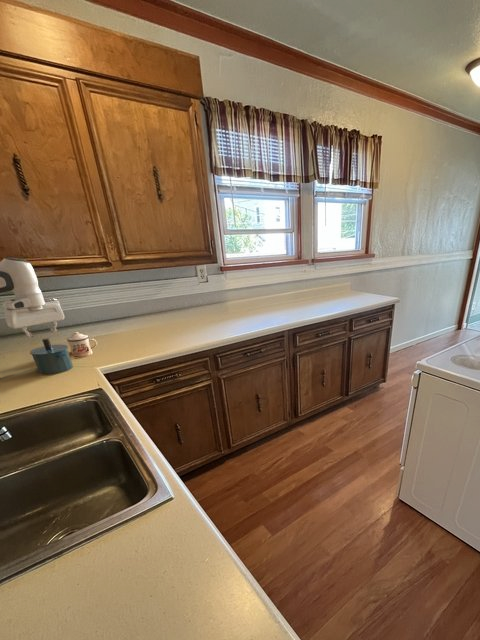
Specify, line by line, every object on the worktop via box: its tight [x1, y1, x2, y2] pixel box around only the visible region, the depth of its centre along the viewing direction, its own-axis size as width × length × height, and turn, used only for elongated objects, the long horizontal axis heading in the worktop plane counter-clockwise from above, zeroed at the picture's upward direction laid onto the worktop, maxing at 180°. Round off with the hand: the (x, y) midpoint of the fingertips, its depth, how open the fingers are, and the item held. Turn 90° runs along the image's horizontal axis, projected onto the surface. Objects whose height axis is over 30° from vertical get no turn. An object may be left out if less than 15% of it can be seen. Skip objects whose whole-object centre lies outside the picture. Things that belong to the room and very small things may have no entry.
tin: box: [31, 349, 74, 376], centre depth 144 cm, size 13×18×10 cm
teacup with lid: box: [66, 331, 98, 358], centre depth 163 cm, size 12×9×12 cm
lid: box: [29, 337, 69, 356], centre depth 141 cm, size 14×14×6 cm
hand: (42, 334), depth 138 cm, fingers open, 8 cm apart
